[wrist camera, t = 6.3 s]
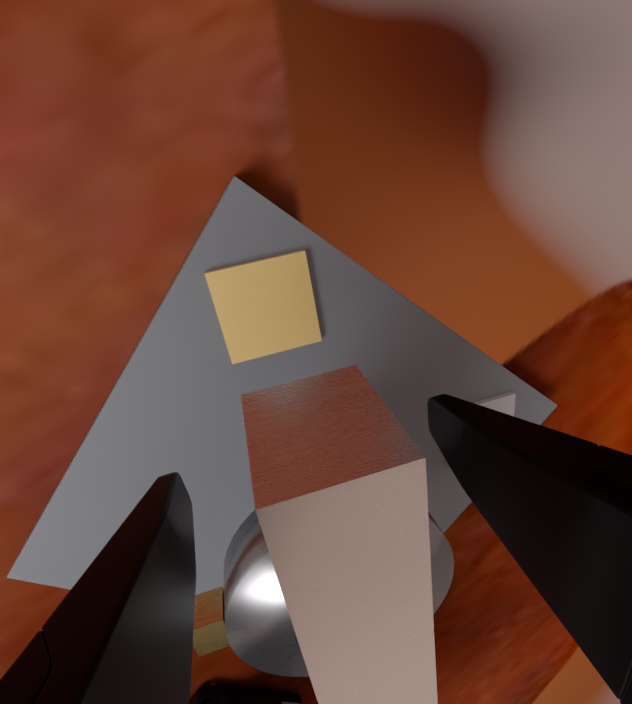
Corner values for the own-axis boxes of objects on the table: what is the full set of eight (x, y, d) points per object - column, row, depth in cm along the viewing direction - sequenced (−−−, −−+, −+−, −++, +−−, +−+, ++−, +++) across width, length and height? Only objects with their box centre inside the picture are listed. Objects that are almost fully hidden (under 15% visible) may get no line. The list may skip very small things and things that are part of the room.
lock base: (343, 625, 21) (367, 709, 18) (16, 558, 15) (-42, 671, 11) (543, 396, 18) (621, 447, 14) (233, 175, 11) (241, 175, 8)
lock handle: (434, 645, 16) (507, 801, 12) (251, 715, 15) (265, 911, 11) (418, 315, 10) (563, 414, 6) (94, 396, 9) (-11, 592, 5)
